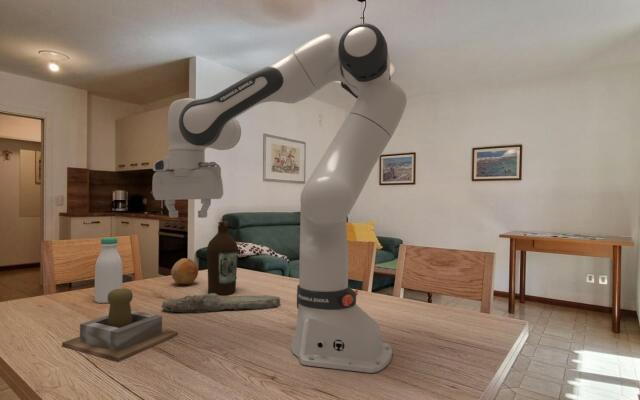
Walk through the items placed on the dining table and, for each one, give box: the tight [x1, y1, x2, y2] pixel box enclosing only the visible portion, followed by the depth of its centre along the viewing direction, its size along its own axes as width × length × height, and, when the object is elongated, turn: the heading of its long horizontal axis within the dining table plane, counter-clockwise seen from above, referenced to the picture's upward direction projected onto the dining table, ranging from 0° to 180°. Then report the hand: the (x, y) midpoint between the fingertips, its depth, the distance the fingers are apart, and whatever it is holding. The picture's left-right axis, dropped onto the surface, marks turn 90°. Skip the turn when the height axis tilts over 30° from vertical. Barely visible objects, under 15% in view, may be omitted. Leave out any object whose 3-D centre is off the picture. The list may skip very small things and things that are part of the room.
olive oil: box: [206, 221, 239, 296], centre depth 130 cm, size 11×11×25 cm
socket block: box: [61, 309, 179, 363], centre depth 85 cm, size 18×16×5 cm
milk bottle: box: [94, 237, 123, 304], centre depth 118 cm, size 8×8×20 cm
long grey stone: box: [161, 293, 281, 314], centre depth 112 cm, size 35×5×10 cm
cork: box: [107, 287, 134, 328], centre depth 86 cm, size 6×6×11 cm
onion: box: [170, 257, 199, 286], centre depth 140 cm, size 10×10×10 cm
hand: (187, 217), depth 94 cm, fingers open, 8 cm apart
